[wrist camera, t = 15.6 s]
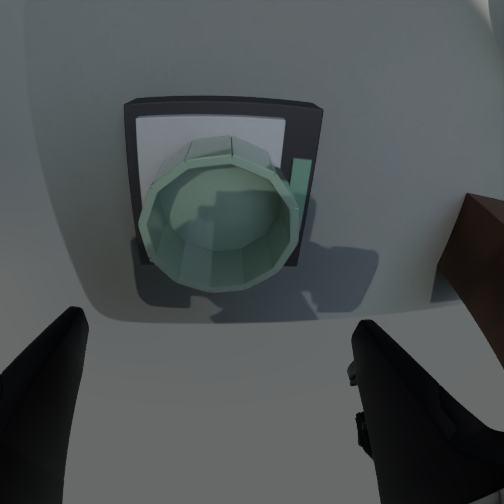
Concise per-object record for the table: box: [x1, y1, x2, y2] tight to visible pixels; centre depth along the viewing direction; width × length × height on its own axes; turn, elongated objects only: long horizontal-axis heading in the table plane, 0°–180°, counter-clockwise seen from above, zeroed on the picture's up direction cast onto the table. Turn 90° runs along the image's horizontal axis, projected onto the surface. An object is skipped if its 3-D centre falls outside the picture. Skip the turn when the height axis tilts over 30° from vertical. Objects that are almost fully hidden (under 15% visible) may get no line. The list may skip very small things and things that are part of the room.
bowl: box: [138, 135, 299, 293], centre depth 14 cm, size 7×7×4 cm
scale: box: [124, 96, 323, 266], centre depth 17 cm, size 10×10×3 cm
